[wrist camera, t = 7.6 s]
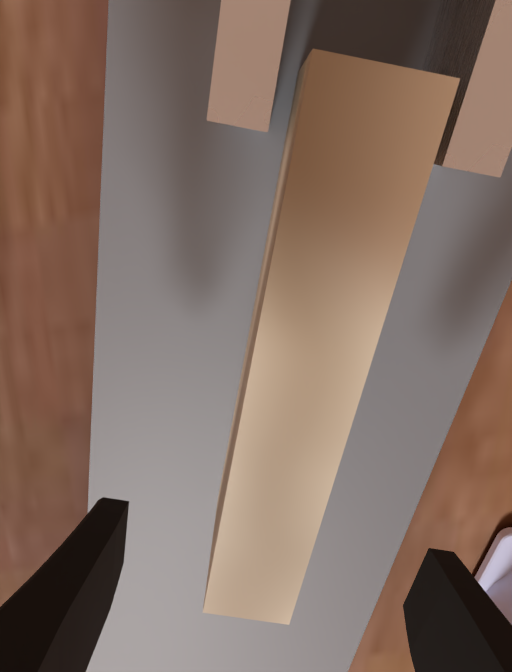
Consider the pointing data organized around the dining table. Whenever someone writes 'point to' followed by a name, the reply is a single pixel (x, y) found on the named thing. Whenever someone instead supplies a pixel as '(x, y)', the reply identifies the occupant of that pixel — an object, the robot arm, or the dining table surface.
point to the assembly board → (233, 329)
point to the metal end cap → (442, 58)
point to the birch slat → (318, 314)
